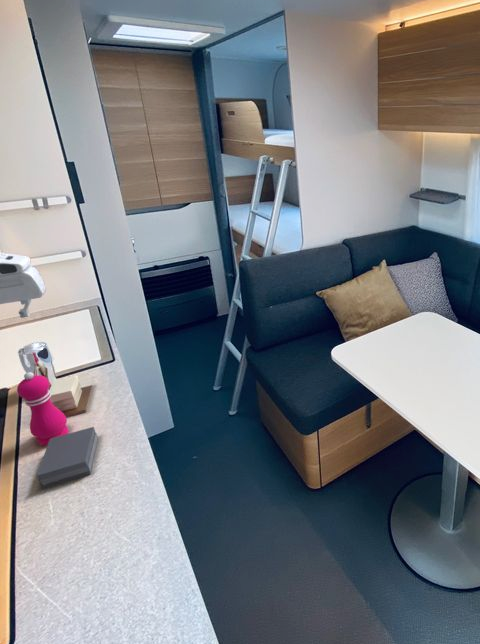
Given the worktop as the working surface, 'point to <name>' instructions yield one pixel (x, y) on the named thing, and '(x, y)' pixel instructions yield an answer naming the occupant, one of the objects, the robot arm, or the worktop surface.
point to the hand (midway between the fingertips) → (1, 320)
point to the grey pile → (68, 457)
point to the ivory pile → (75, 401)
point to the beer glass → (38, 360)
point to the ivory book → (63, 388)
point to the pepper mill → (41, 408)
